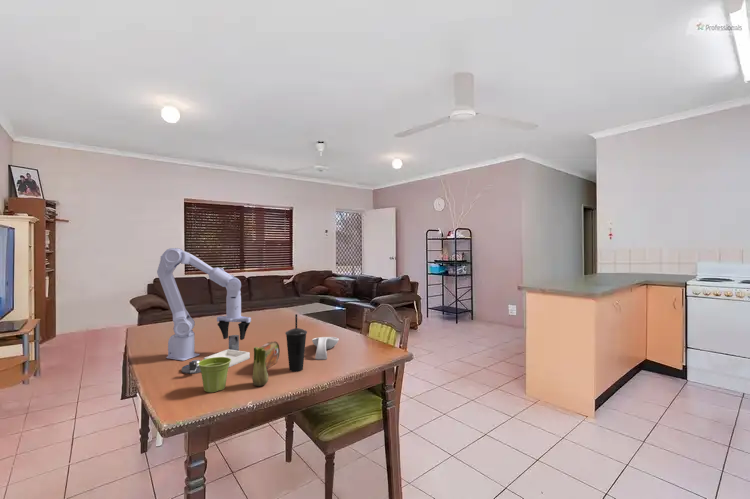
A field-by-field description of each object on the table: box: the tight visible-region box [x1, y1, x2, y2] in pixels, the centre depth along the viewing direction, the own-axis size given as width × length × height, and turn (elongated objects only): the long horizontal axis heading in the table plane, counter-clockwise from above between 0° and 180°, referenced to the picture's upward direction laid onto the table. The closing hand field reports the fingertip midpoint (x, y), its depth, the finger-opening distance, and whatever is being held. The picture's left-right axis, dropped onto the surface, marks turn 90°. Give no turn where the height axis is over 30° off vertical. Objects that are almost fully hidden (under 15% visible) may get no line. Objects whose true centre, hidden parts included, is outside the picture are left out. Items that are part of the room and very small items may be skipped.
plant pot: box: [198, 357, 231, 393], centre depth 110 cm, size 9×9×9 cm
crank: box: [188, 359, 201, 373], centre depth 124 cm, size 10×3×4 cm, turn 19°
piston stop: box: [228, 334, 240, 351], centre depth 147 cm, size 4×4×7 cm
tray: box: [202, 348, 251, 369], centre depth 136 cm, size 11×12×2 cm
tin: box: [258, 341, 281, 370], centre depth 131 cm, size 15×3×8 cm, turn 168°
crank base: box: [181, 364, 201, 375], centre depth 127 cm, size 9×9×1 cm
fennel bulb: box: [251, 346, 269, 387], centre depth 113 cm, size 6×5×12 cm
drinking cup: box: [284, 314, 308, 373], centre depth 127 cm, size 8×8×20 cm
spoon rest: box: [311, 336, 339, 360], centre depth 150 cm, size 24×12×7 cm, turn 4°
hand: (233, 339), depth 147 cm, fingers open, 7 cm apart
